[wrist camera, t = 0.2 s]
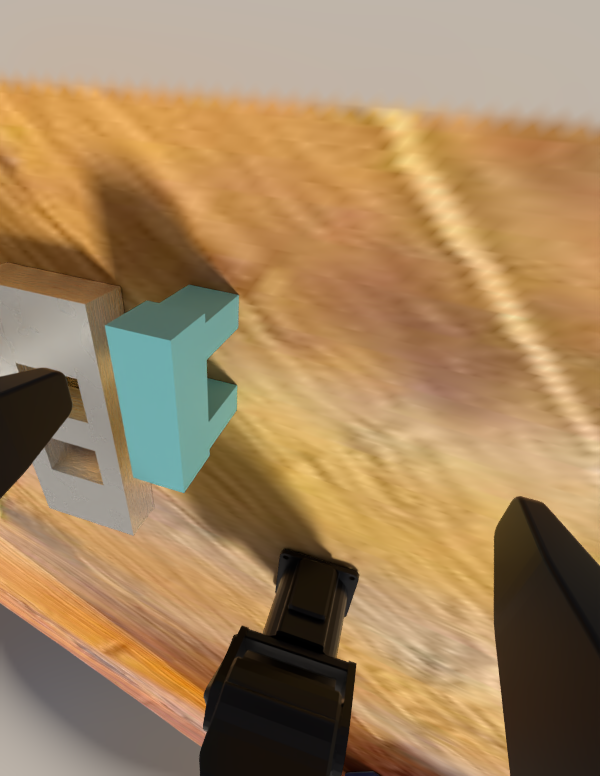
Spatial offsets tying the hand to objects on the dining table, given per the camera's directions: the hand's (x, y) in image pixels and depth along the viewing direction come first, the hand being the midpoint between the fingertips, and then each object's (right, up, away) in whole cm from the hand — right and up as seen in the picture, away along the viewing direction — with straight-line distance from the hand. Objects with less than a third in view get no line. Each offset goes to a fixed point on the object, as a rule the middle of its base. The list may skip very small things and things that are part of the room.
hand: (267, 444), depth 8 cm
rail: (-15, 0, +22) cm, 27 cm away
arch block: (-5, +3, +17) cm, 18 cm away
